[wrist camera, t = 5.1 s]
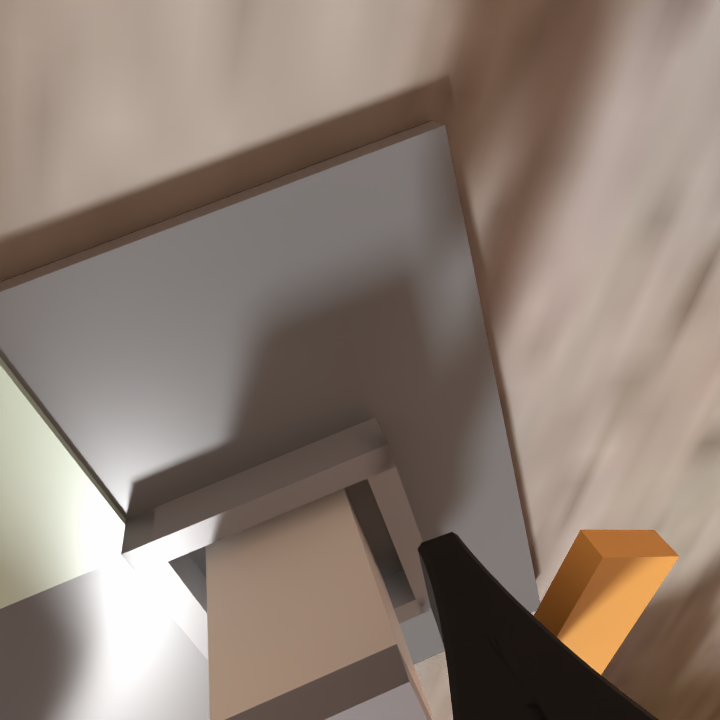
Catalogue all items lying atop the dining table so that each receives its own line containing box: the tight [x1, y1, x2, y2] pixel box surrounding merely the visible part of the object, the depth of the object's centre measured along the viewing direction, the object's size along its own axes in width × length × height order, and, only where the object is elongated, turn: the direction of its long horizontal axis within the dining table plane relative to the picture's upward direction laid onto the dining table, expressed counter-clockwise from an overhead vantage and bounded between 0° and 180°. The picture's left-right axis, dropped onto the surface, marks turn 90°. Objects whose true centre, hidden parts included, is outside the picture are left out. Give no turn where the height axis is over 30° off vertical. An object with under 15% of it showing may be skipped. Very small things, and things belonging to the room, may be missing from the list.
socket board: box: [0, 121, 540, 720], centre depth 14 cm, size 18×18×7 cm
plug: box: [206, 488, 433, 720], centre depth 14 cm, size 4×4×6 cm
